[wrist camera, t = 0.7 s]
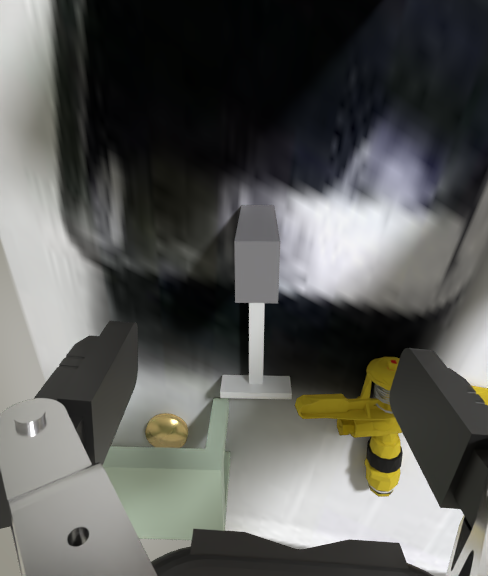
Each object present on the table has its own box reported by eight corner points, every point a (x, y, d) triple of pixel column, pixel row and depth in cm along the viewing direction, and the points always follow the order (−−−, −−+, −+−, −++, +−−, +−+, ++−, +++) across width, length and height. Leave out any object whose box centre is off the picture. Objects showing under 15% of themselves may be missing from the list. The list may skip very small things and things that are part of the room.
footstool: (228, 398, 36) (220, 470, 29) (230, 461, 39) (223, 541, 32) (100, 395, 37) (60, 465, 29) (112, 458, 40) (79, 536, 32)
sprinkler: (302, 520, 36) (300, 390, 30) (293, 482, 40) (289, 359, 33) (504, 489, 37) (543, 358, 31) (476, 455, 41) (507, 332, 34)
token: (187, 411, 37) (185, 419, 36) (190, 443, 39) (188, 451, 38) (145, 410, 38) (143, 418, 37) (150, 442, 39) (147, 450, 38)
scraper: (298, 205, 29) (314, 241, 21) (289, 381, 35) (298, 463, 27) (217, 205, 29) (200, 241, 21) (222, 380, 35) (211, 460, 27)
